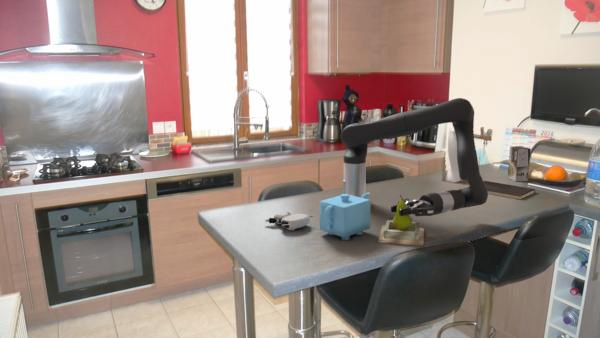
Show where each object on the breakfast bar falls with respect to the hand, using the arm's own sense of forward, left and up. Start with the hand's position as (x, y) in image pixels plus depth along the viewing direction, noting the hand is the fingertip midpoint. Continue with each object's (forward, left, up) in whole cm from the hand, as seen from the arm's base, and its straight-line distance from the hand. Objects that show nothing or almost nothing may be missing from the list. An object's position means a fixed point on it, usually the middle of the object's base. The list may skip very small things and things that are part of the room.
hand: (395, 211), depth 147 cm
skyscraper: (+22, +87, -10) cm, 90 cm away
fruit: (+2, +2, -7) cm, 8 cm away
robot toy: (-38, +4, -10) cm, 39 cm away
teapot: (-16, +2, -9) cm, 19 cm away
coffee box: (+53, +96, -9) cm, 110 cm away
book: (+42, +70, -10) cm, 82 cm away
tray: (+2, +2, -9) cm, 10 cm away
